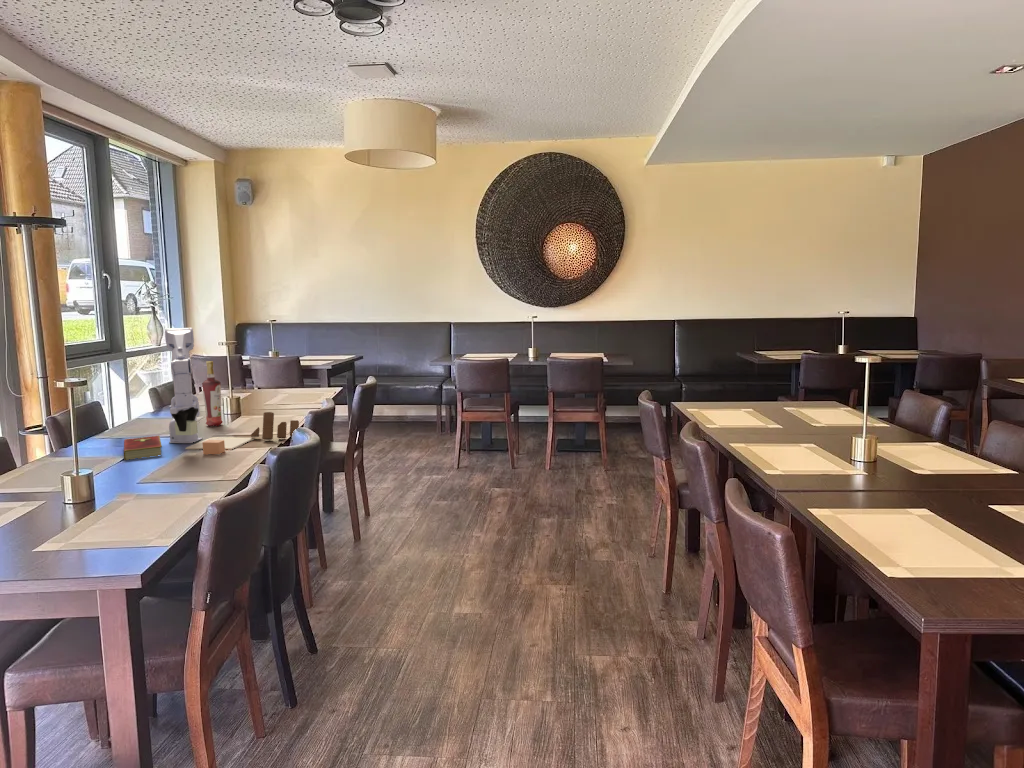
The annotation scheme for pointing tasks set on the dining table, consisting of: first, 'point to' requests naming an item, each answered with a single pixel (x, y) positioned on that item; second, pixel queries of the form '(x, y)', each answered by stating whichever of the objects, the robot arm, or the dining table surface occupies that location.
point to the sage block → (187, 428)
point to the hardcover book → (142, 447)
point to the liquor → (212, 397)
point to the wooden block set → (268, 427)
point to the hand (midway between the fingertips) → (186, 429)
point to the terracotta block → (213, 447)
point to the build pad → (228, 441)
